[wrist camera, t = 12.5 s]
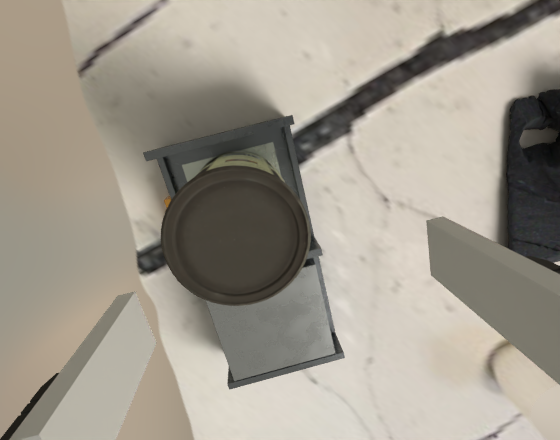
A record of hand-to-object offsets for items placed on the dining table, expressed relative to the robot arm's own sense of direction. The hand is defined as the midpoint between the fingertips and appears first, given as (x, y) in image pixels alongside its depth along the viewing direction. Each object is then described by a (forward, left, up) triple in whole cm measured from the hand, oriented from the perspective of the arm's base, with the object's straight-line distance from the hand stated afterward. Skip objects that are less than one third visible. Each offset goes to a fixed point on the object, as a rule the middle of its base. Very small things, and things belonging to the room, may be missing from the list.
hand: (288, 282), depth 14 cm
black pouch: (+9, +36, -24) cm, 44 cm away
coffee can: (0, -3, -23) cm, 23 cm away
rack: (+7, -3, -24) cm, 25 cm away
